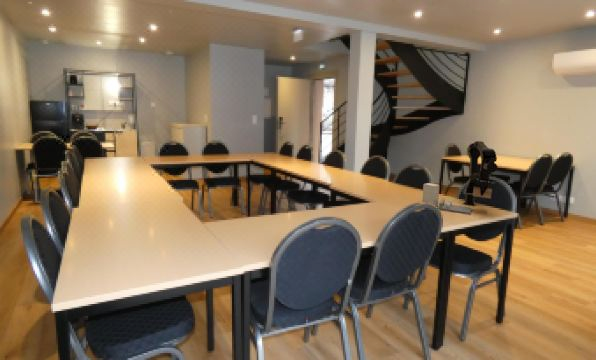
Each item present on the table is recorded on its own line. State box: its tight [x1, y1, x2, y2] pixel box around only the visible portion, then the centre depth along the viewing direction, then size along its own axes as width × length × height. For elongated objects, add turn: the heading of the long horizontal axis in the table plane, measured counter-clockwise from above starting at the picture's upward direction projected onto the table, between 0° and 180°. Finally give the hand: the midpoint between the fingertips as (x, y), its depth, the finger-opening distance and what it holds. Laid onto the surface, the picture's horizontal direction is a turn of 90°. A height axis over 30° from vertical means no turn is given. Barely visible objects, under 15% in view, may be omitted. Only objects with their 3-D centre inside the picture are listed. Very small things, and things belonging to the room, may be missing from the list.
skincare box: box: [421, 182, 440, 208], centre depth 234 cm, size 8×6×15 cm
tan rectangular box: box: [473, 187, 493, 199], centre depth 227 cm, size 5×10×5 cm, turn 63°
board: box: [438, 197, 472, 216], centre depth 231 cm, size 15×18×5 cm
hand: (481, 194), depth 227 cm, fingers closed on tan rectangular box, 5 cm apart
